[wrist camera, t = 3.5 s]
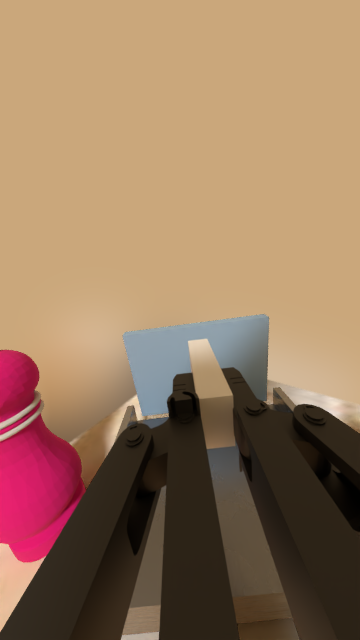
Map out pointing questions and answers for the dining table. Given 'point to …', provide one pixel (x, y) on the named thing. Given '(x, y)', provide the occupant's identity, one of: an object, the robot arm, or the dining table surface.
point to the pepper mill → (32, 465)
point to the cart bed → (237, 534)
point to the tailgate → (173, 356)
